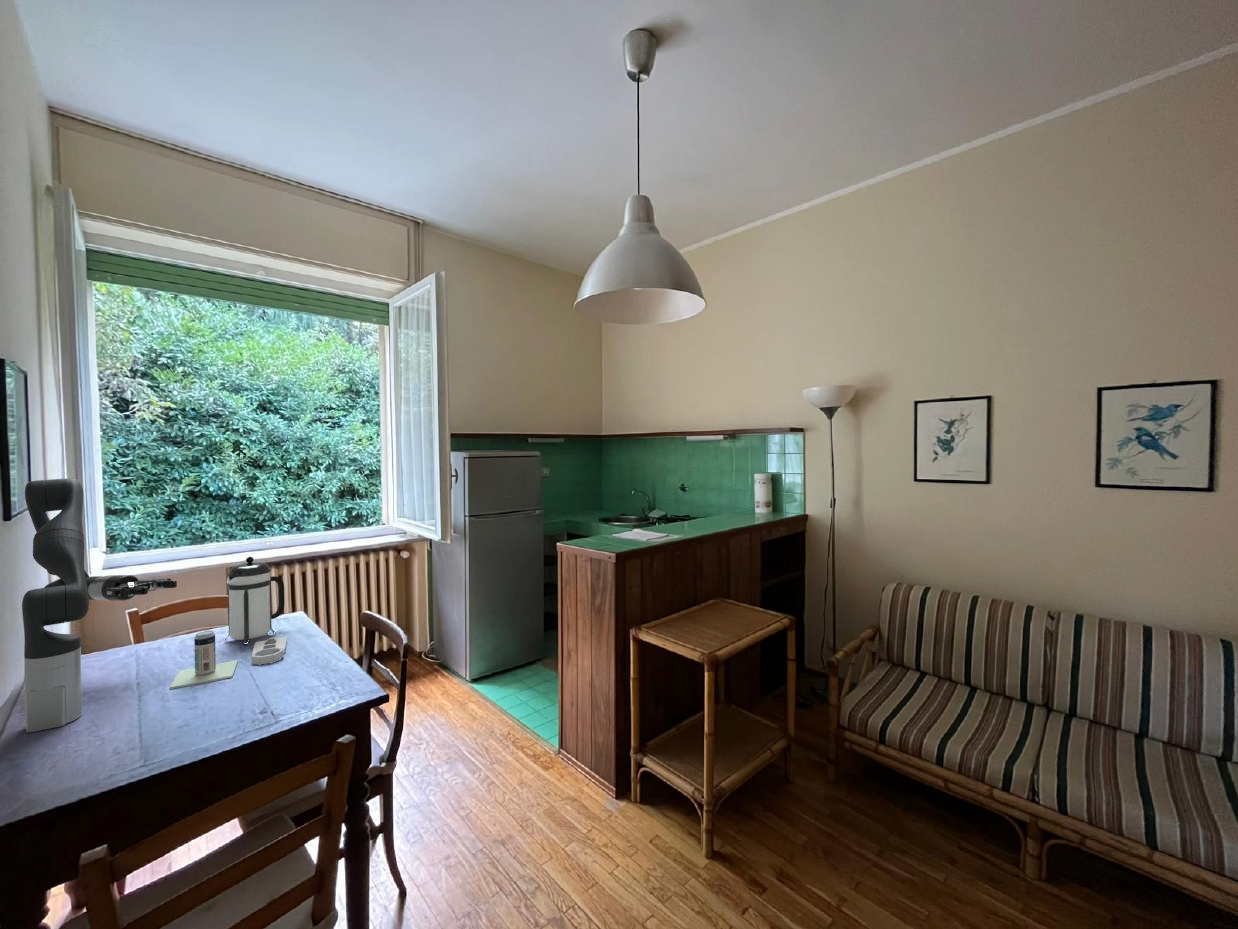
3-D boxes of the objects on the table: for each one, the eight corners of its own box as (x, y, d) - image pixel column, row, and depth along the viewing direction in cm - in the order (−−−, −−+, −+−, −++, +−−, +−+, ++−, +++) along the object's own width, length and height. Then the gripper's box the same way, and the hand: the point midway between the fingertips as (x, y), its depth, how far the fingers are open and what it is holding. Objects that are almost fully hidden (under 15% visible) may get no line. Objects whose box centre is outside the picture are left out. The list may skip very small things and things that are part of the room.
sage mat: (232, 677, 147) (232, 675, 147) (169, 689, 140) (169, 687, 140) (237, 662, 159) (237, 660, 159) (180, 672, 151) (180, 670, 151)
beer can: (219, 669, 152) (219, 630, 152) (207, 676, 147) (206, 635, 147) (203, 669, 152) (203, 630, 152) (190, 676, 147) (190, 636, 147)
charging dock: (283, 660, 160) (283, 653, 160) (249, 667, 155) (249, 659, 155) (286, 641, 178) (286, 634, 178) (255, 646, 173) (255, 639, 173)
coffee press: (272, 642, 177) (271, 558, 177) (217, 649, 171) (216, 562, 171) (285, 627, 193) (284, 550, 193) (235, 633, 187) (234, 554, 187)
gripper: (86, 580, 145) (136, 579, 143) (139, 570, 159) (184, 570, 157) (87, 606, 144) (136, 606, 143) (139, 594, 159) (184, 594, 157)
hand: (161, 587), depth 150 cm, fingers open, 8 cm apart
